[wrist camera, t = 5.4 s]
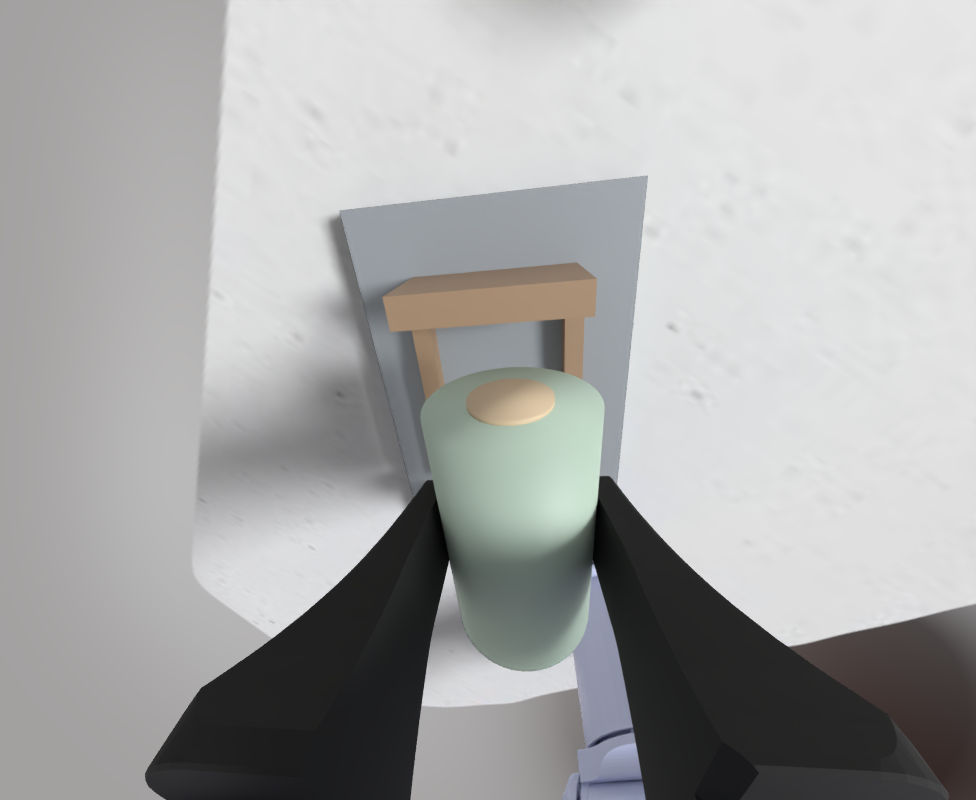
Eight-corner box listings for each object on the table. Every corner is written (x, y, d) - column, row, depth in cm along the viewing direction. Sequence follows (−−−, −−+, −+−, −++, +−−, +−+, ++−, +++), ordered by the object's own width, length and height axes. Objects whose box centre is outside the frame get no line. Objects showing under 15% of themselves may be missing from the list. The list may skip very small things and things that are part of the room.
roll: (579, 550, 14) (598, 679, 10) (470, 546, 15) (449, 668, 11) (589, 359, 10) (626, 450, 6) (441, 365, 11) (392, 452, 7)
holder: (608, 509, 22) (632, 585, 18) (425, 512, 24) (403, 585, 19) (637, 178, 14) (697, 162, 9) (351, 210, 15) (281, 210, 11)
